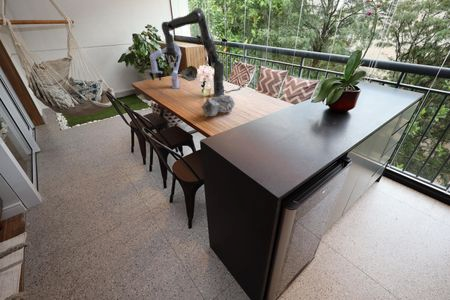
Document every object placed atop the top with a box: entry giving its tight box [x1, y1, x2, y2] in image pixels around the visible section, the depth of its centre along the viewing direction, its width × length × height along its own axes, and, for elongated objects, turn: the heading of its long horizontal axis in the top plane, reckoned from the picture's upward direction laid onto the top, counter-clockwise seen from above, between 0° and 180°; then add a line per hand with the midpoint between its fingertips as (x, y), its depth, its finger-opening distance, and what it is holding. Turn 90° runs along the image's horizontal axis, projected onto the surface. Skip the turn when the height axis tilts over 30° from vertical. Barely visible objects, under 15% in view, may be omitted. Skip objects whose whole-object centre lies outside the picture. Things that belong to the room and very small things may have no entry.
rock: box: [200, 95, 236, 118], centre depth 162 cm, size 17×17×28 cm
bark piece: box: [178, 65, 198, 81], centre depth 260 cm, size 19×8×30 cm
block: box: [168, 61, 175, 69], centre depth 196 cm, size 4×5×4 cm
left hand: (156, 80), depth 217 cm, fingers open, 7 cm apart
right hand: (173, 66), depth 196 cm, fingers closed on block, 4 cm apart
